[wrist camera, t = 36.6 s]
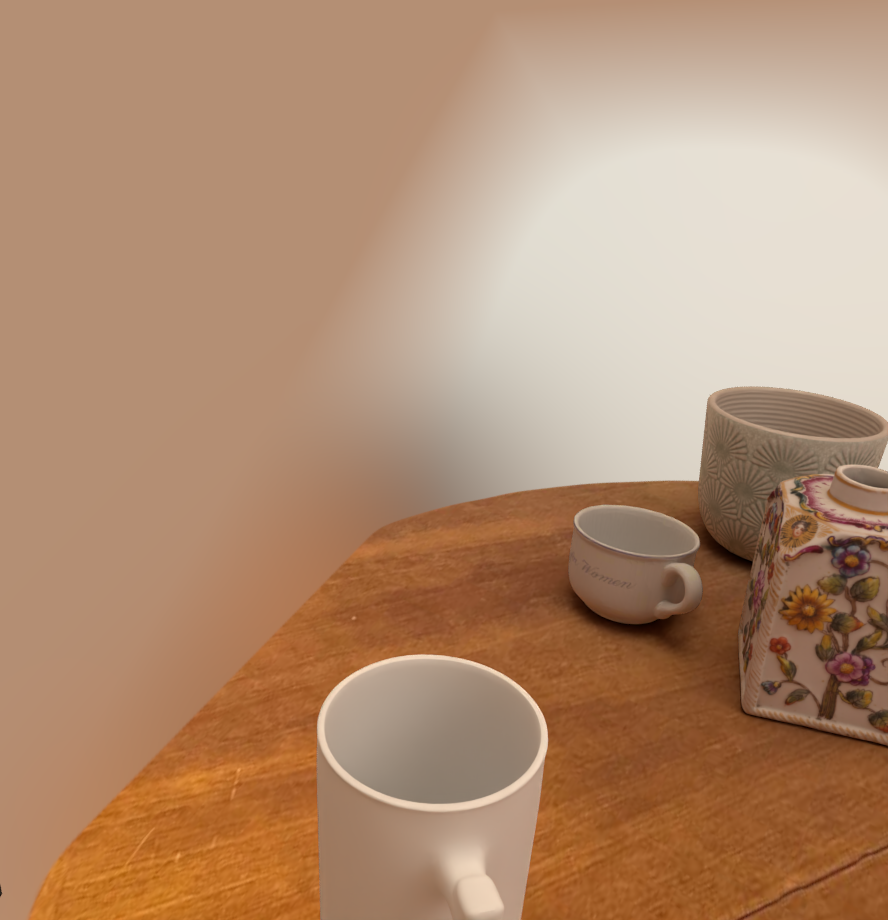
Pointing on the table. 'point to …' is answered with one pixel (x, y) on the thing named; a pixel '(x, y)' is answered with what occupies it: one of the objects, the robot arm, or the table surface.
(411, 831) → the mug
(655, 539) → the teacup
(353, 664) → the table surface
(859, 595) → the decorative jar
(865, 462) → the planter
